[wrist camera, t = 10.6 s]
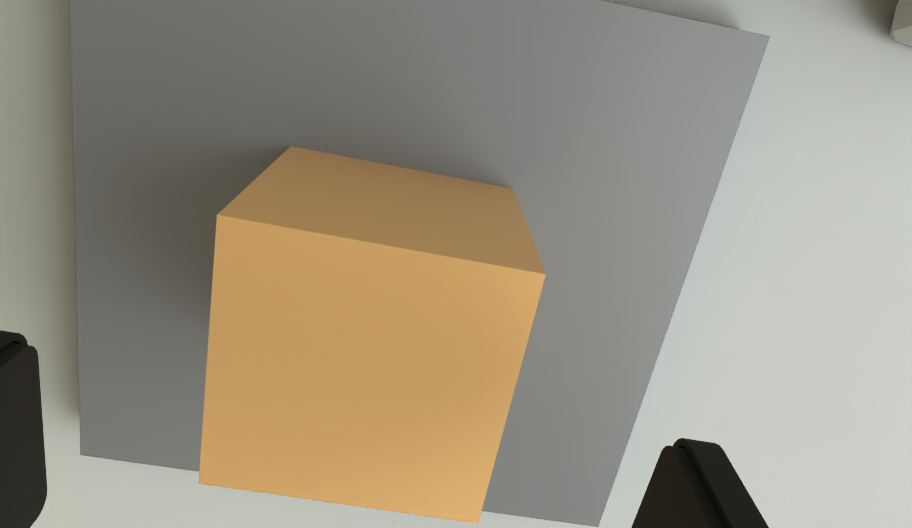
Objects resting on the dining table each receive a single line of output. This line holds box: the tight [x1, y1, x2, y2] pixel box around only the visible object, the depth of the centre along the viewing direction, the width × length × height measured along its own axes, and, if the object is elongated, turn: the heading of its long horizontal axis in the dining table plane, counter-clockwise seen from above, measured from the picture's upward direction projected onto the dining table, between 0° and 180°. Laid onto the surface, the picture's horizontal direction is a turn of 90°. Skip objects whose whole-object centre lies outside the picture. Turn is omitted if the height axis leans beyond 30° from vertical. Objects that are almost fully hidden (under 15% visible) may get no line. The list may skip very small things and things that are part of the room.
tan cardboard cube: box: [199, 146, 546, 523], centre depth 16 cm, size 6×6×6 cm
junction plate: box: [70, 0, 770, 527], centre depth 17 cm, size 16×17×6 cm
